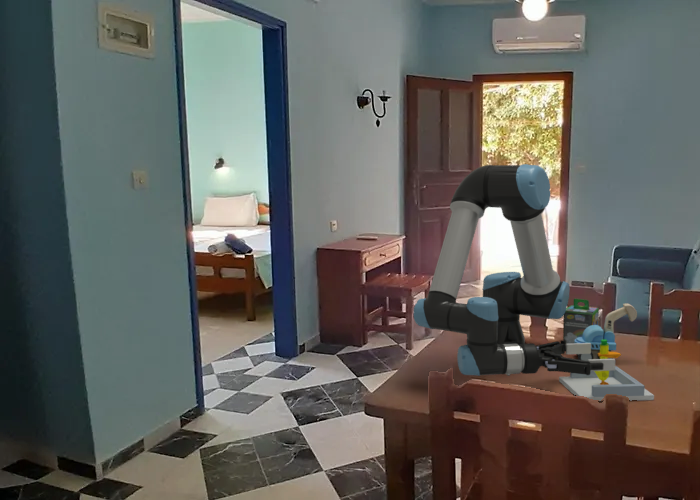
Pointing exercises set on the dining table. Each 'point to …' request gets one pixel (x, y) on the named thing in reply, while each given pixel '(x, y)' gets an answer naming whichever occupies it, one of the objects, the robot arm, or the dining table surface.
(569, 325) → the chalk box
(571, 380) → the open-sided tray
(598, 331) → the toy excavator
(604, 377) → the toy figure
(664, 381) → the dining table surface
